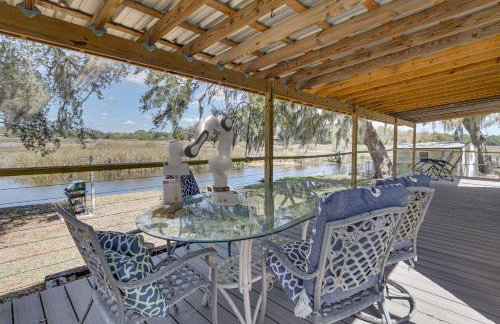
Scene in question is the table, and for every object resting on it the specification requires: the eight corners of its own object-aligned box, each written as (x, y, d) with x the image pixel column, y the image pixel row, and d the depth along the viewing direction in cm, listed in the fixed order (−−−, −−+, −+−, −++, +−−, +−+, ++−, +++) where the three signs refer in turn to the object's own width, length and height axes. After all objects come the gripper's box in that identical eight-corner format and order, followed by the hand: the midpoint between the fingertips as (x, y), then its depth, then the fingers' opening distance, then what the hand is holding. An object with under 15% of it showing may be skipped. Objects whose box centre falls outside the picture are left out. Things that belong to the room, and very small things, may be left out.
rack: (186, 212, 208) (186, 207, 208) (174, 219, 192) (174, 213, 192) (164, 210, 214) (164, 205, 214) (150, 217, 198) (150, 211, 197)
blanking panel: (183, 211, 207) (182, 202, 206) (174, 216, 196) (173, 206, 195) (179, 211, 208) (179, 202, 207) (170, 215, 196) (169, 206, 196)
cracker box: (182, 202, 239) (181, 178, 237) (180, 204, 233) (178, 179, 231) (166, 202, 240) (165, 178, 238) (163, 204, 235) (162, 179, 232)
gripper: (190, 161, 206) (191, 180, 207) (166, 162, 211) (167, 180, 213) (186, 163, 200) (187, 182, 201) (161, 163, 205) (162, 181, 207)
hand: (177, 181), depth 207 cm, fingers closed
